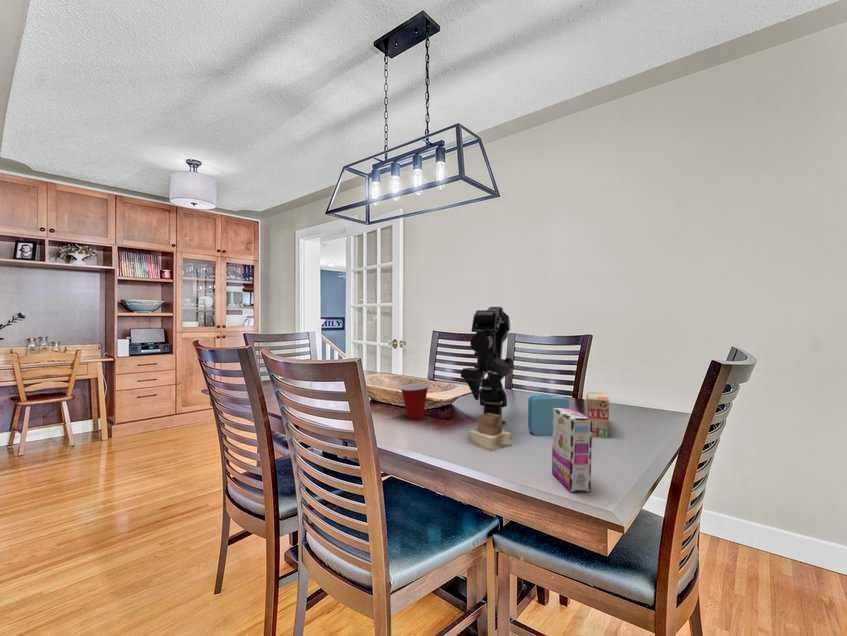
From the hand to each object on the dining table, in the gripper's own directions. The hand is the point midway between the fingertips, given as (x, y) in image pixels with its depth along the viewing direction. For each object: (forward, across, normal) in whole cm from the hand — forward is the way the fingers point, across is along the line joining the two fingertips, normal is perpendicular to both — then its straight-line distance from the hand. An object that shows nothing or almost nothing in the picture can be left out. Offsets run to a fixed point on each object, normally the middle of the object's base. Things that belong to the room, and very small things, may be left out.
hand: (485, 397), depth 136 cm
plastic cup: (+12, -4, +30) cm, 33 cm away
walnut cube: (+8, -8, -8) cm, 13 cm away
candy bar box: (+11, -16, -37) cm, 42 cm away
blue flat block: (+12, +15, -14) cm, 24 cm away
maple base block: (+12, -8, -7) cm, 16 cm away
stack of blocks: (+12, +33, -22) cm, 41 cm away
